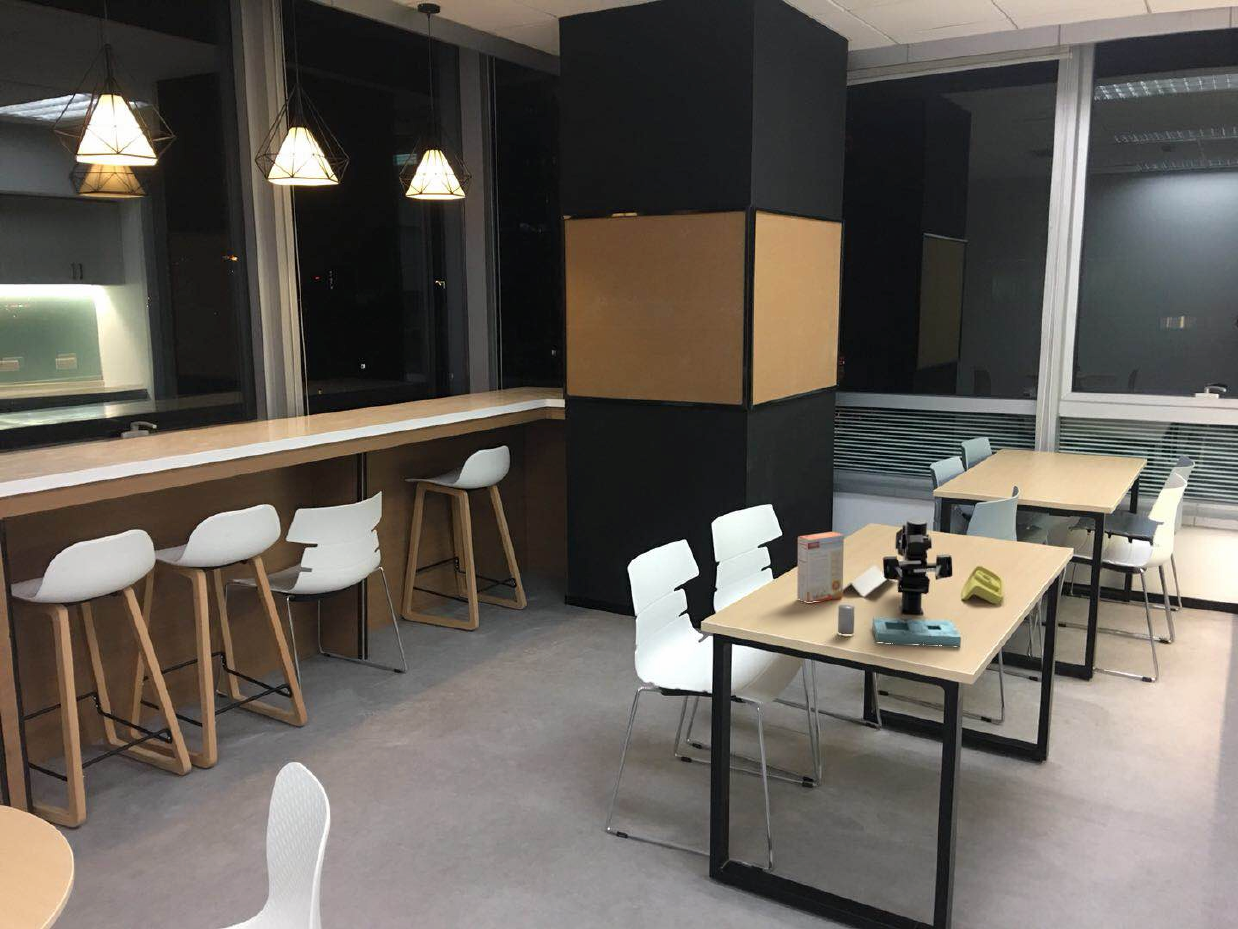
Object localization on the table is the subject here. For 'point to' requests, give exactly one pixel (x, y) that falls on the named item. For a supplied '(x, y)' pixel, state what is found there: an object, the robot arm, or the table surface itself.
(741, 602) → the table surface
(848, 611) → the grey cylinder
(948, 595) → the table surface
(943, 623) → the plate
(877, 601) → the table surface
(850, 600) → the table surface
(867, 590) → the z bracket
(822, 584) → the cracker box
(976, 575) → the plastic component
